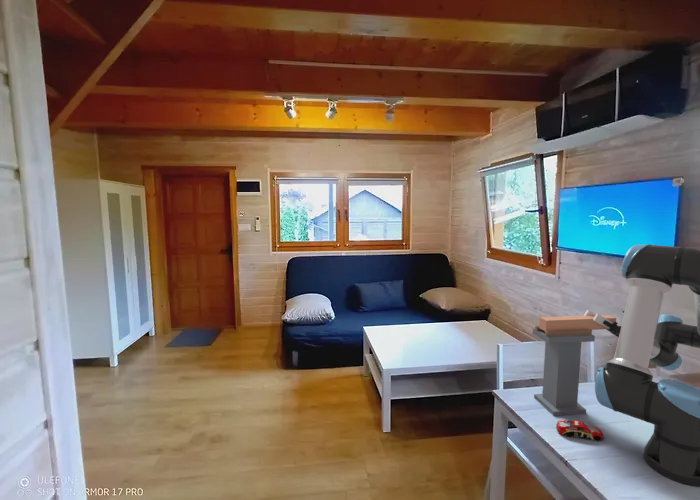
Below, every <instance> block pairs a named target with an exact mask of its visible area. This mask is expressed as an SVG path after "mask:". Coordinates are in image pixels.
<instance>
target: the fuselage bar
mask: <svg viewBox="0 0 700 500" xmlns="http://www.w3.org/2000/svg"><path fill="white" fill-rule="evenodd" d="M600 315H601V316H602V317H604V318H606V319H608V320H609V321H611V322H613V323H614V321H615V322H617V317H615V316H612V315H609V314H600ZM594 317H595V315H584V314H583V315H565V316H563V315H562V316H558V315H557V316H539V323H538V325H539V328H540V329H542V330H544V331H562V330H584V329H591V330H592V331H594V330H606V329H607V328H606V327H604V326H602V325H600V324H599V323H597V322H595V321H593V319H594ZM613 323H612V324H613ZM609 329H610V328H609Z"/></svg>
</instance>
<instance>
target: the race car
mask: <svg viewBox="0 0 700 500" xmlns="http://www.w3.org/2000/svg"><path fill="white" fill-rule="evenodd" d="M556 430H557V432H558V433H559V434H560V435H562V436H566V437H569V438H577V439H585V440H589V441H590V440H591V441H592V440H593V441H596V442H600V441H602V440H603V439H604V438H605V437H604V433H603V430H601V429H600V428H599V427H596V426H594V425H589V424H587V423H584V422H583V421H580V420H576V419H575V420H574V419H565V420H564V419H563V420H558V421H557V423H556Z"/></svg>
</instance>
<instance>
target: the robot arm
mask: <svg viewBox="0 0 700 500" xmlns="http://www.w3.org/2000/svg"><path fill="white" fill-rule="evenodd" d="M621 266H622V267H621V275H622V276H621V277H623V278H625V283H626V284H627V285H628V286H629V291H628V295H627V300H626V304H625V307H624V308H625V309H624V313H623V317H622V321H621V325H618V324H619V323H618V322H617V321H616V322H615V321H614V323H613V322H611V321H609V320H608V319H606V318H604V317H602V316H601V315H602V314H598V313H594V312H592V310H591V311H590V310H589V309H586V311H585V313H584V314H583V315H595V317H594V319H593V321H595V322H597V323H599V324H600V325H602V326H604V327H606V328H607V329H605V330H606V331H607V332H609V333H610V334H612V335H613V336H615V337H617V338H618V340H617V344H616V349H615V351H614V352H615V353H614V357H613V358H612V359H610V360H608V361H606V364H605V366H600V367H599V368H598V369H597V372H596V375H595V379H594V391H595V397H596V400H597V401H598V403H599V404H600V405H601V406H602V407H605V408H606V409H610V410H612V411H614V412H617V413H620V414H623V415H626V416H629V417H632V418H635V419H637V420H641V421H643V422H646V423H648V424H652V425H654V426H653V433H652V434H651V436H650V438H649V440H648V441H647V443H646V444H645V446H644V449H643V450H644V451H643V458H644V461H645V462H646V463H647V465H648V466H649V467H650V468H652V469H653V470H654V471H655V472H658V473H659V474H661V475H662V476H664V477H666V478H669V479H670V480H673V481H674V482H679V483H681V484H684V485H688V486H693V487H700V388H698V387H695V386H694V385H691V384H689V383H686V382H684V381H681V380H677V379H676V380H675V379H673V380H672V379H669V378H664V379H663V378H662V379H660V380H659V381H658V382H656V381H653V378H654V374H653V373H652V372H651V371H650V370H649V364H650V363H652V364H654V365H655V366H656V367H659V368H662V369H663V370H666V371H676V370H678V369H679V368H680V367H681V365H682V363H683V360H682V357H681V355H680V354H679V353H677V350H678V345H683V346H687V347H692V348H696V349H700V249H699V248H696V247H692V246H691V247H689V246H686V247H685V246H673V245H671V246H669V245H657V244H655V245H654V244H650V243H648V244H635V245H633V246H631V247H630V248H629V249H627V251H626V253H625V255H624V257H623V260H622V264H621ZM673 285H681V286H682V285H683V286H688V288H689V290H690V291H691V292H692V293H693V298H694V299H693V301H694V302H693V303H694V309H695V317H696V318H695V319H696V325H691V324H686V323H684V321H683V319H682V318H681V317H680V316H679V317H678V316H676V315H673V314H668V313H667V314H666V313H665V314H664V313H663V314H661V309H662V303H663V301H664V300H663V299H664V295H665V294H666V293H668V292H670V291H671V290H672V288H673ZM612 323H613V324H612ZM609 328H610V329H609Z"/></svg>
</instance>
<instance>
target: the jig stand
mask: <svg viewBox="0 0 700 500" xmlns="http://www.w3.org/2000/svg"><path fill="white" fill-rule="evenodd" d="M592 333H593V330H591V329H584V330H562V331H544V330H542V329H540V328H539V324H538V325H535V327H533V328H532V334H533V335H534V336H536V337H538V338H539V339H541V340H543V341H544V342H545V343H544V360H543V362H544V363H543V364H544V365H543V381H542V382H543V383H542V393H535V394H534V395H533V399H535V400H536V401H537V403H539V404H540V405H541V406H542V407H543V408H544V409H546V410H547V411H548V412H549V413H550V414H551V415H552V416H554V417H555V416H556V417H557V416H571V415H585V414H587V409H586V408H585V407H584V406H583V405H581V404H580V403H578V400H579V399H578V398H579V396H578V395H579V386H580V383H579V381H580V369H581V353H582V343H584V342H585V343H586V342H587V343H588V342H590V343H591V342H592V343H593V342H595V341H596V339H595V338H596V336H595V335H594V334H592Z"/></svg>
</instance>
